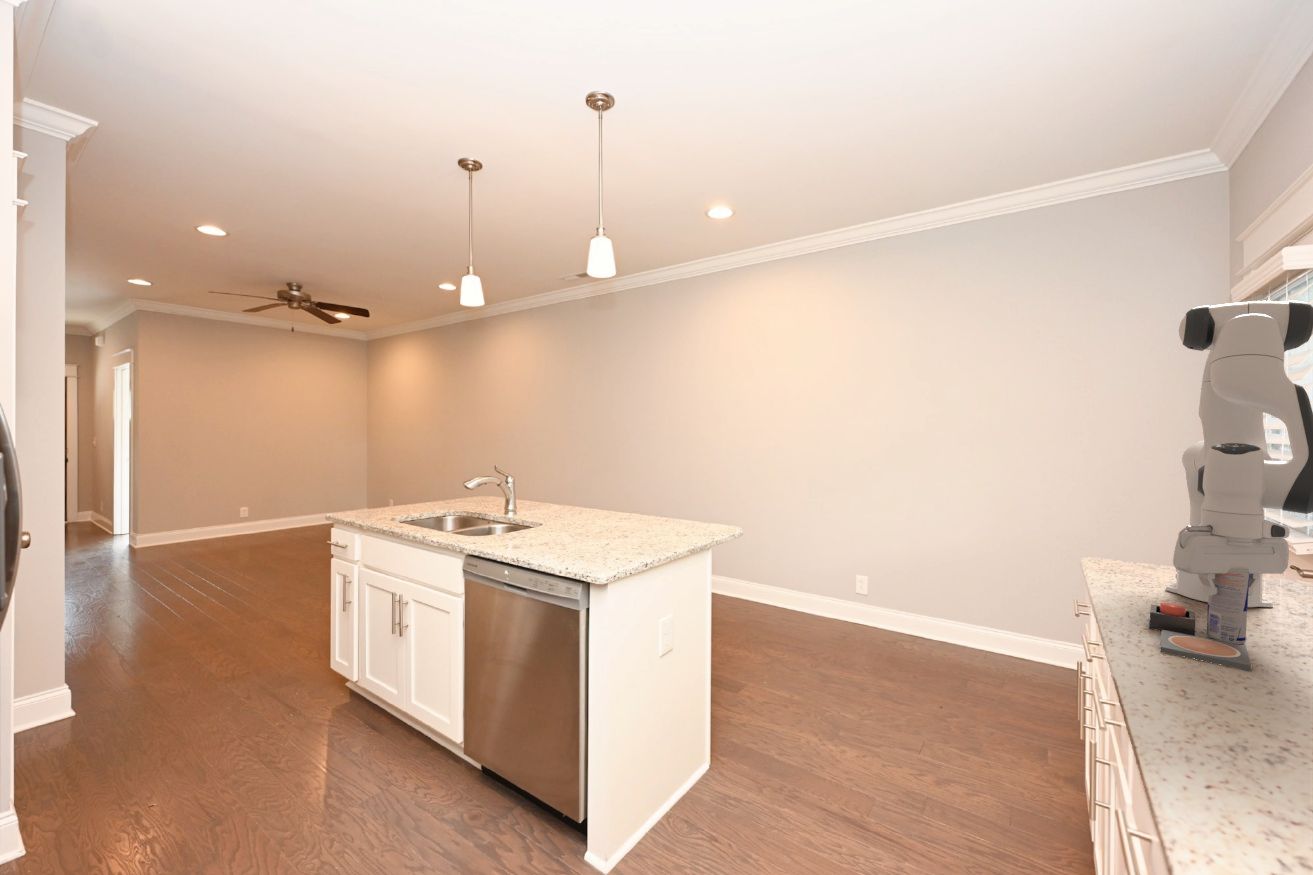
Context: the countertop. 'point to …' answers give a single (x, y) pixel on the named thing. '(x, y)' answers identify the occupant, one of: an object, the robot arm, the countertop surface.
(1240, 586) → the beverage can
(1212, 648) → the picture board
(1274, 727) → the countertop surface
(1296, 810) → the countertop surface
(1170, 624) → the button housing
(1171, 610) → the button
